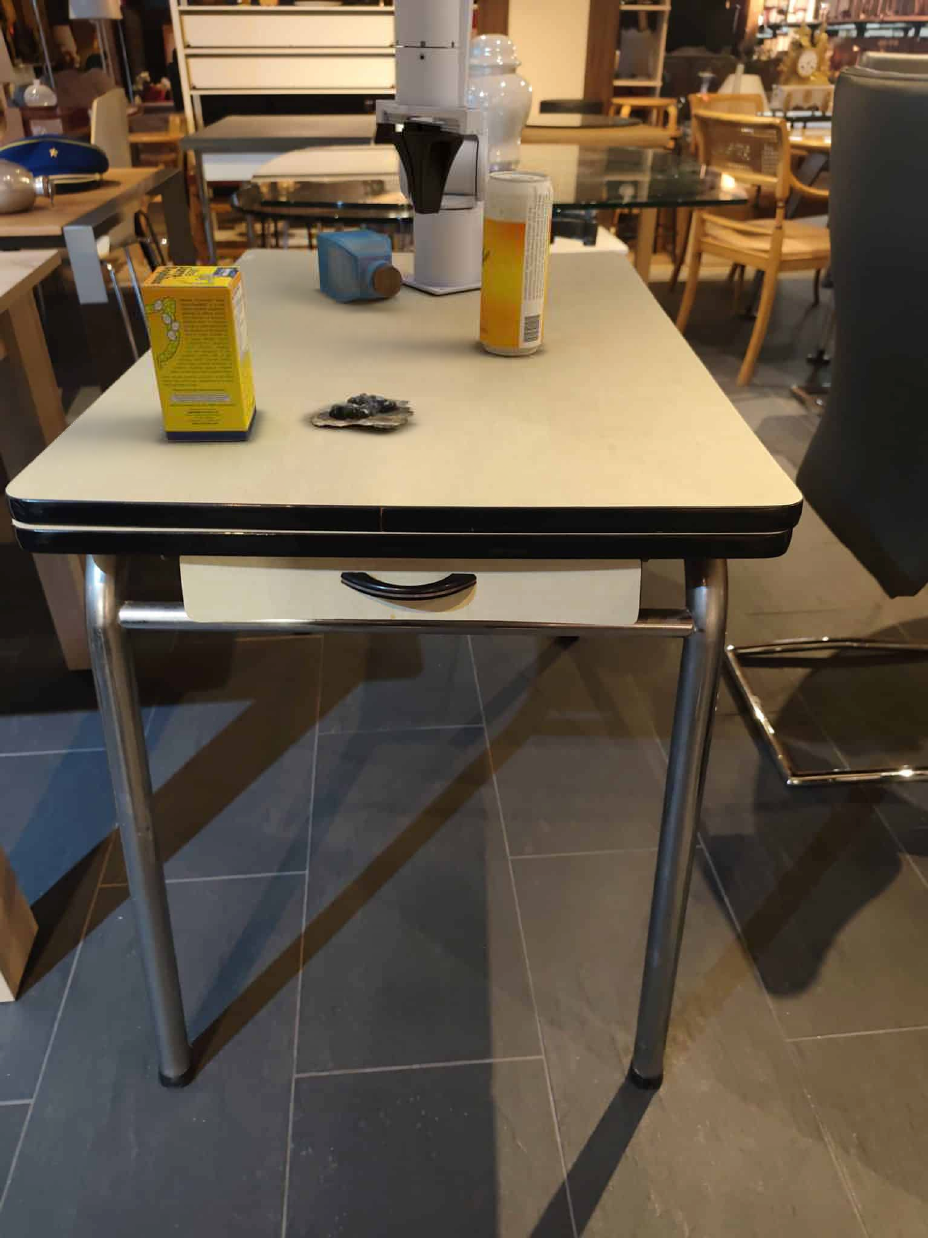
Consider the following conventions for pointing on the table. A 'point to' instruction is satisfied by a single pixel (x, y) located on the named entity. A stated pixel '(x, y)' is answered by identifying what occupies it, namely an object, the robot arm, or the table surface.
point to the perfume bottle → (356, 266)
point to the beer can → (515, 261)
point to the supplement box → (200, 352)
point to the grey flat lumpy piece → (365, 412)
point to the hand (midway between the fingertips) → (427, 212)
